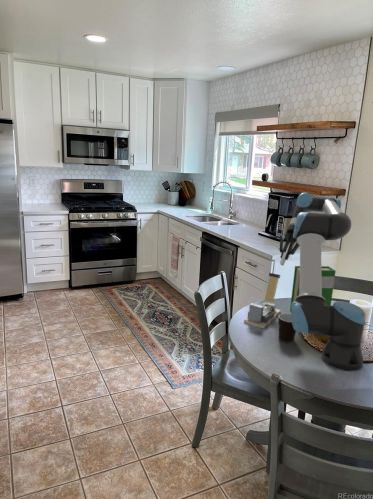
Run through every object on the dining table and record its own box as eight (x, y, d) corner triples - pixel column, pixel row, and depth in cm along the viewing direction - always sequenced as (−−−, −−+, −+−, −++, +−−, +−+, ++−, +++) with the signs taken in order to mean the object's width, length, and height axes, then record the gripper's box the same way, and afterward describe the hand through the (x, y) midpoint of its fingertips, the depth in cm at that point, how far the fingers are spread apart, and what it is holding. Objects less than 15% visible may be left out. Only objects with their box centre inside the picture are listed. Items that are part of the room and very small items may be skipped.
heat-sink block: (263, 324, 177) (265, 308, 175) (245, 319, 182) (246, 303, 180) (278, 311, 193) (279, 296, 191) (261, 307, 198) (262, 292, 196)
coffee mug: (291, 345, 162) (294, 323, 160) (272, 339, 167) (275, 317, 165) (302, 335, 171) (304, 315, 169) (283, 330, 176) (285, 309, 174)
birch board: (263, 328, 177) (264, 325, 177) (243, 322, 182) (244, 319, 182) (280, 312, 195) (280, 310, 195) (262, 308, 200) (262, 305, 200)
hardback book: (295, 316, 192) (300, 270, 186) (290, 310, 199) (295, 265, 193) (329, 316, 193) (335, 270, 187) (322, 310, 200) (328, 266, 194)
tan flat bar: (273, 302, 190) (279, 274, 191) (263, 299, 193) (269, 272, 193) (274, 302, 192) (280, 275, 193) (265, 300, 195) (271, 273, 195)
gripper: (308, 233, 209) (295, 270, 200) (285, 230, 216) (271, 265, 207) (306, 225, 204) (292, 262, 194) (282, 222, 211) (268, 257, 201)
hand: (281, 264), depth 201 cm, fingers closed
